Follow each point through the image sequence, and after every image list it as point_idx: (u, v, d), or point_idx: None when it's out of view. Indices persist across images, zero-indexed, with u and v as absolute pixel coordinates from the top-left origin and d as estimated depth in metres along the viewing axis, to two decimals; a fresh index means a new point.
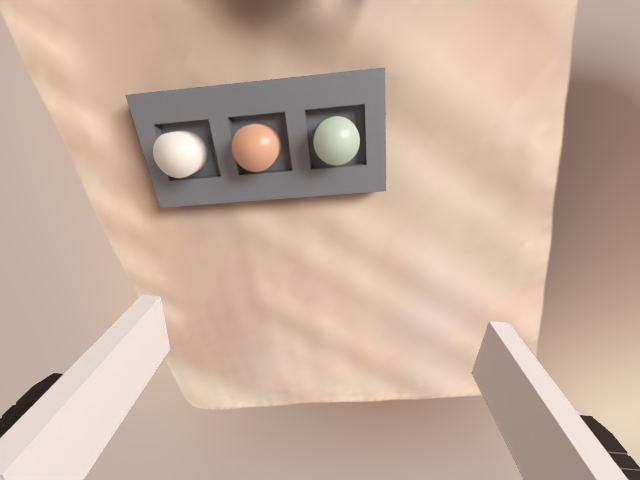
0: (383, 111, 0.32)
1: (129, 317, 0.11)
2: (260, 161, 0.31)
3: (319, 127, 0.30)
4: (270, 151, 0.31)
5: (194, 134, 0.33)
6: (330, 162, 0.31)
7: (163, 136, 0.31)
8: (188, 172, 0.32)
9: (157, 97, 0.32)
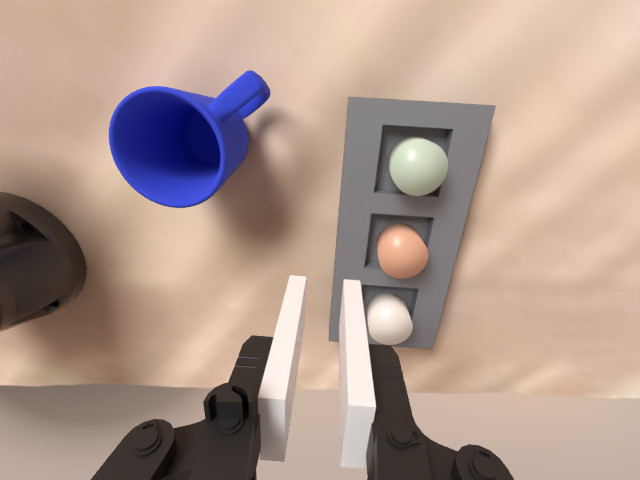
0: (395, 101, 0.26)
1: (293, 292, 0.13)
2: (418, 254, 0.29)
3: (399, 186, 0.26)
4: (410, 242, 0.28)
5: (373, 301, 0.34)
6: (441, 179, 0.26)
7: (370, 331, 0.32)
8: (409, 321, 0.32)
9: (335, 318, 0.36)
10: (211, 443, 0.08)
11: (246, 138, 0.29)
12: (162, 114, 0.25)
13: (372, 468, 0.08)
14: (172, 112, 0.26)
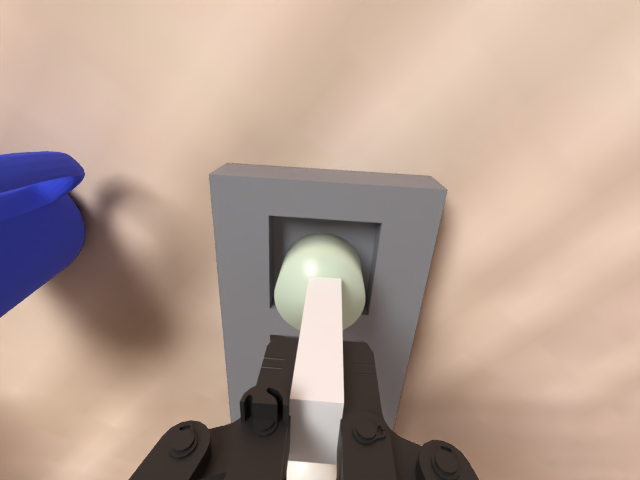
0: (283, 182, 0.16)
1: (314, 293, 0.13)
2: None
3: (289, 321, 0.16)
4: None
5: None
6: (357, 313, 0.16)
7: None
8: None
9: None
10: (246, 443, 0.08)
11: (66, 229, 0.18)
12: None
13: (340, 465, 0.08)
14: None
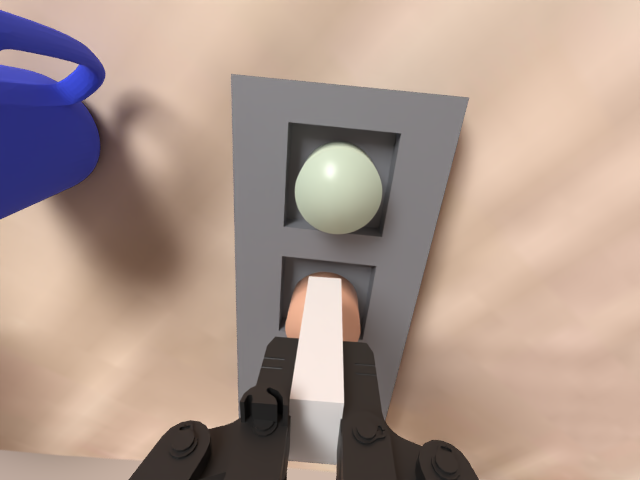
0: (305, 84, 0.16)
1: (314, 293, 0.13)
2: (344, 326, 0.18)
3: (308, 218, 0.17)
4: None
5: None
6: (373, 211, 0.16)
7: None
8: None
9: None
10: (246, 443, 0.08)
11: (83, 136, 0.18)
12: None
13: (340, 466, 0.08)
14: None
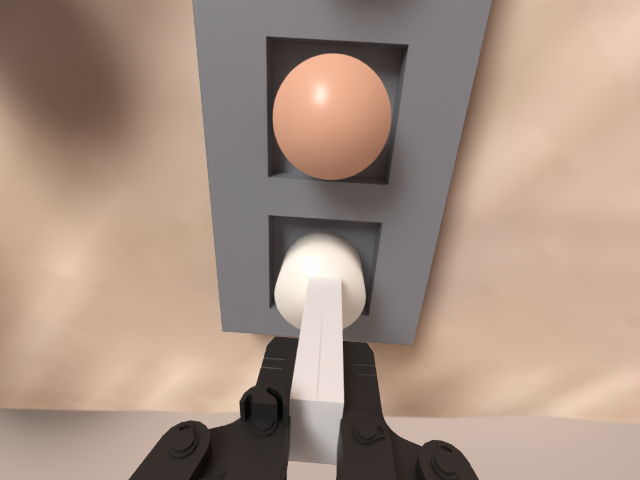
0: None
1: (314, 293, 0.13)
2: (366, 111, 0.12)
3: None
4: (345, 76, 0.11)
5: (291, 247, 0.17)
6: None
7: (280, 305, 0.16)
8: (357, 283, 0.15)
9: (227, 288, 0.19)
10: (246, 443, 0.08)
11: None
12: None
13: (340, 466, 0.08)
14: None
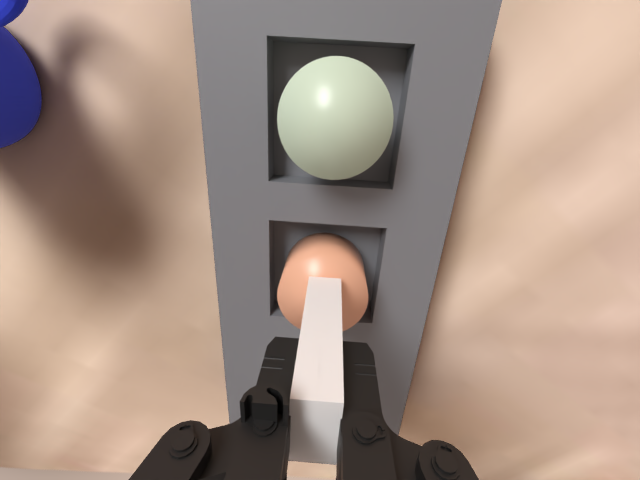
0: None
1: (314, 293, 0.13)
2: (349, 293, 0.15)
3: (296, 160, 0.13)
4: (332, 272, 0.15)
5: None
6: (382, 145, 0.12)
7: None
8: None
9: (234, 394, 0.21)
10: (246, 443, 0.08)
11: (11, 73, 0.15)
12: None
13: (339, 466, 0.08)
14: None
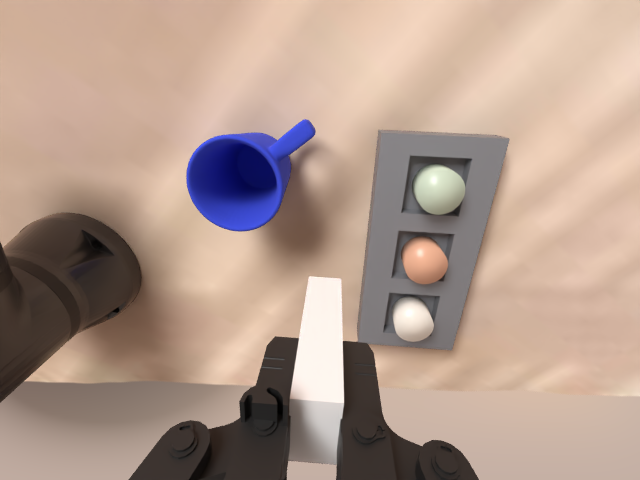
0: (421, 136, 0.30)
1: (314, 293, 0.13)
2: (439, 263, 0.33)
3: (423, 206, 0.31)
4: (432, 253, 0.33)
5: (398, 303, 0.39)
6: (459, 201, 0.31)
7: (396, 329, 0.37)
8: (430, 321, 0.36)
9: (364, 323, 0.40)
10: (246, 443, 0.08)
11: (290, 167, 0.33)
12: (223, 151, 0.30)
13: (340, 466, 0.08)
14: (230, 148, 0.31)
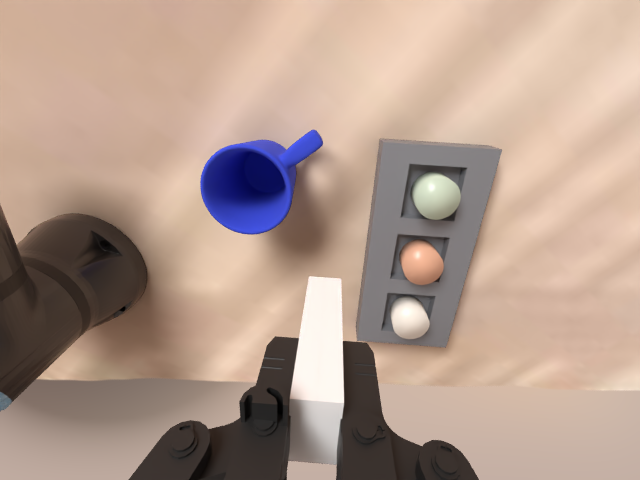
0: (420, 146, 0.32)
1: (314, 293, 0.13)
2: (435, 265, 0.35)
3: (421, 212, 0.33)
4: (429, 256, 0.35)
5: (395, 302, 0.41)
6: (455, 207, 0.33)
7: (394, 327, 0.39)
8: (426, 320, 0.39)
9: (363, 321, 0.42)
10: (246, 443, 0.08)
11: None
12: (234, 158, 0.31)
13: (340, 466, 0.08)
14: (240, 155, 0.32)
